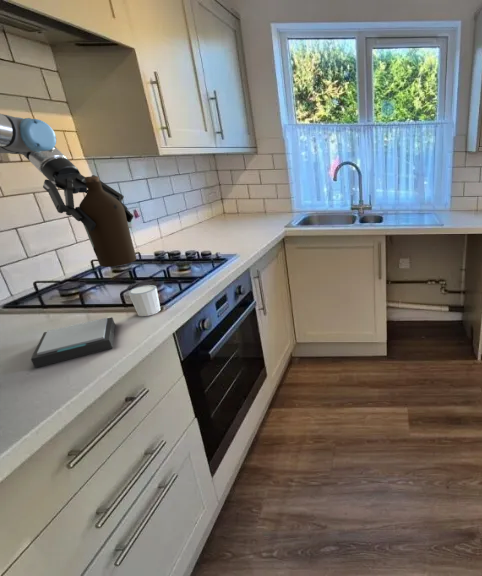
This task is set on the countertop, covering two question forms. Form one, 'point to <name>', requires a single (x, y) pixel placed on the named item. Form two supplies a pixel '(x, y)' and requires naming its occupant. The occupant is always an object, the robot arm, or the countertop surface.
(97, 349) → the scale
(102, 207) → the olive oil
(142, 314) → the white faceted cylinder
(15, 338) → the countertop surface
